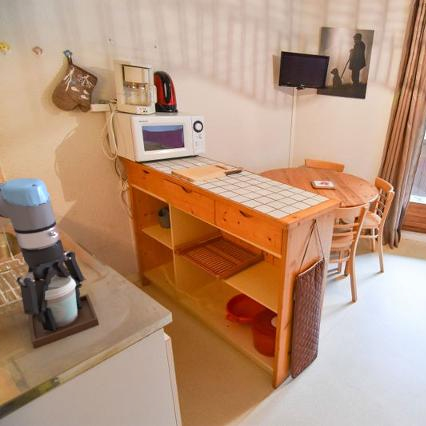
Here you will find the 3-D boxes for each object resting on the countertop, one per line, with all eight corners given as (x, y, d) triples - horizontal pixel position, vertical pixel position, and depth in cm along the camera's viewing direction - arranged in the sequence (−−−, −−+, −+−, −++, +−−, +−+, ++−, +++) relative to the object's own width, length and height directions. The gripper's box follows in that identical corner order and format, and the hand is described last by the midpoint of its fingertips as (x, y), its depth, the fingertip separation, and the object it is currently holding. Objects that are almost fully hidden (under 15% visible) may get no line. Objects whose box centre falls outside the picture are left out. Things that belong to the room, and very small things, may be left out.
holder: (30, 318, 85) (28, 312, 84) (89, 299, 94) (87, 293, 93) (34, 348, 76) (32, 342, 76) (99, 324, 85) (97, 318, 84)
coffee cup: (35, 325, 82) (22, 287, 78) (70, 305, 90) (60, 270, 85) (57, 335, 80) (45, 297, 75) (91, 315, 87) (82, 278, 83)
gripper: (12, 267, 66) (42, 349, 75) (89, 226, 85) (105, 296, 94) (-21, 263, 67) (12, 345, 75) (62, 223, 85) (81, 293, 94)
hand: (63, 318), depth 85 cm, fingers closed on coffee cup, 8 cm apart
